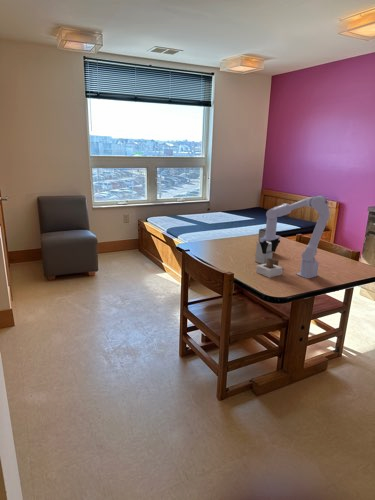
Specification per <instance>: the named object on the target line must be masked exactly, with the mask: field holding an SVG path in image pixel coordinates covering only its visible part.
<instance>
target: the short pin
mask: <svg viewBox="0 0 375 500" xmlns="http://www.w3.org/2000/svg"><path fill="white" fill-rule="evenodd" d="M273 260H274V265H277V266H279V259H278V260H277V259H273Z"/></svg>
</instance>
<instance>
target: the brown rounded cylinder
mask: <svg viewBox="0 0 375 500" xmlns="http://www.w3.org/2000/svg"><path fill="white" fill-rule="evenodd" d="M274 260H275V259H274V258H272V259H267V261H266V268H269V269H271V268H273V265H274Z"/></svg>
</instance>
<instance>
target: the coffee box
mask: <svg viewBox="0 0 375 500" xmlns="http://www.w3.org/2000/svg"><path fill="white" fill-rule="evenodd" d="M265 233H266V227H264V228H260V229H259V230H258V241H257V242H259V241H260V238H263V237H264V236H265ZM268 242H271V240H270V241H268Z"/></svg>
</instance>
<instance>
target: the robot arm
mask: <svg viewBox="0 0 375 500" xmlns="http://www.w3.org/2000/svg"><path fill="white" fill-rule="evenodd" d="M302 207H308V208H313V209H314V210H315V211H316V213H317V215H318V219H317V221H316V224H315V226H314V229H313V232H312V234H311V236H310V240H309V242H308V244H307V246H306V248H305V250H304V251H303V252H302V253H301V261H300V269H299V272H297V273H296V275H298V276H300V277H303V278H305V279H311V278H315V277H316V278H317V277H318V276H320V275H319V274H318V273H319V272H318V271H319V267H320V266H319V265H320V264H319V261H318V260H317V259H316V256H317V254H318V250H317V249H318V246H319V243H320V240H321V238H322V235H323V232H324V231H325V228H326V226H327V224H328V221H329V218H330V216H331V211H330V206H329V201H328V199H327V198H326V197H325V196H324V195H323V194H322V195H321V194H320V195H317V196H311V197H306V198H304V199H301V200H299V201H298V200H297V202H294V203H291V204H289V203H285V202H284V203H281V204H280V205H277V206H274V207H272V208H270V209H268V210H267V211H266V213H265V216H266V224H265V228H266V233H265V236H264V237H263V238H260V241H259V243H260V245H261V248H262V253H263V254H266V251H267V246H268V244H269V243H267V242H266V241H270V240H271V244H272V249H271V250H272V252H273V253H276V251H277V248H278V246H279V244H280V243H281V235H276V234H277V223H278V217H279V218H280V217H283V216H286V215H288V214H291V212H292V210H296V209H299V208H302Z"/></svg>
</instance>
